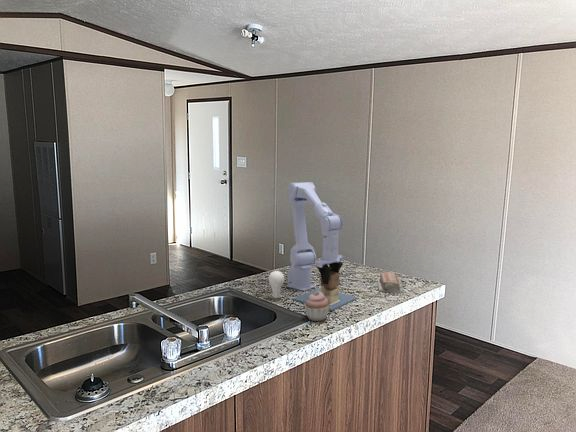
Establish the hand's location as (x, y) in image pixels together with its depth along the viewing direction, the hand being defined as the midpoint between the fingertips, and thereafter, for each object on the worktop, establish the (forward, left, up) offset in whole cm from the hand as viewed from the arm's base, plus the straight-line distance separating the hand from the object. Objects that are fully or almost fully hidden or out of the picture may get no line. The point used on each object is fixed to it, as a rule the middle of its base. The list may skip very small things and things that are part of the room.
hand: (329, 282), depth 182 cm
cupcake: (+6, -16, -8) cm, 19 cm away
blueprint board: (-3, +2, -8) cm, 9 cm away
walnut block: (0, 0, -2) cm, 2 cm away
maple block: (0, 0, -7) cm, 7 cm away
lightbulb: (-18, -10, -8) cm, 22 cm away
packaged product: (+7, +35, -9) cm, 37 cm away
